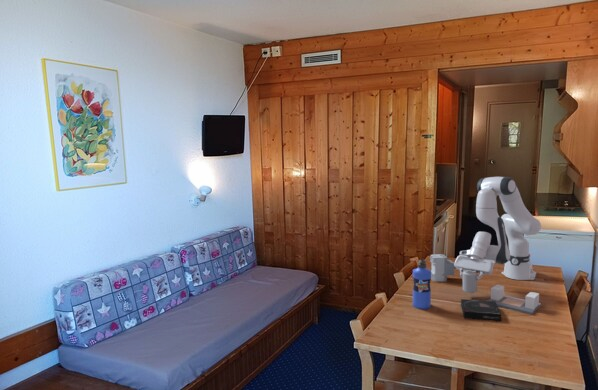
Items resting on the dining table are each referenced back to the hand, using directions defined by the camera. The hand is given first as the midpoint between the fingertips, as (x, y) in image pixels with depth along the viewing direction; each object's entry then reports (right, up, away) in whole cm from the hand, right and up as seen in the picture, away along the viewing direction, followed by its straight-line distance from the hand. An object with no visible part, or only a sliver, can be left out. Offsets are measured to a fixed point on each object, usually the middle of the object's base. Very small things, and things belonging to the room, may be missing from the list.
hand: (469, 277), depth 228 cm
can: (+1, -8, +1) cm, 8 cm away
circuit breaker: (-3, -7, +32) cm, 33 cm away
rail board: (+19, -12, -10) cm, 25 cm away
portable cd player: (-2, -14, -19) cm, 24 cm away
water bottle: (-28, -13, -8) cm, 32 cm away
